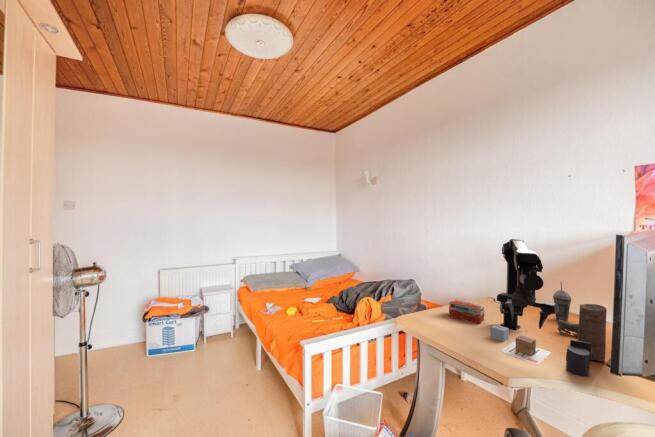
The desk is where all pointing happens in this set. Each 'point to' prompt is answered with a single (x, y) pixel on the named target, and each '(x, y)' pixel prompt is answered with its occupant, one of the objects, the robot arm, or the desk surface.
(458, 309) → the medicine box
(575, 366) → the speaker
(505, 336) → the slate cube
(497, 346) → the desk surface
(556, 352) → the desk surface
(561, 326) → the dog figurine
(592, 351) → the candle
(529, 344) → the walnut block
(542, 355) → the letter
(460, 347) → the desk surface
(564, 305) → the beverage cup
